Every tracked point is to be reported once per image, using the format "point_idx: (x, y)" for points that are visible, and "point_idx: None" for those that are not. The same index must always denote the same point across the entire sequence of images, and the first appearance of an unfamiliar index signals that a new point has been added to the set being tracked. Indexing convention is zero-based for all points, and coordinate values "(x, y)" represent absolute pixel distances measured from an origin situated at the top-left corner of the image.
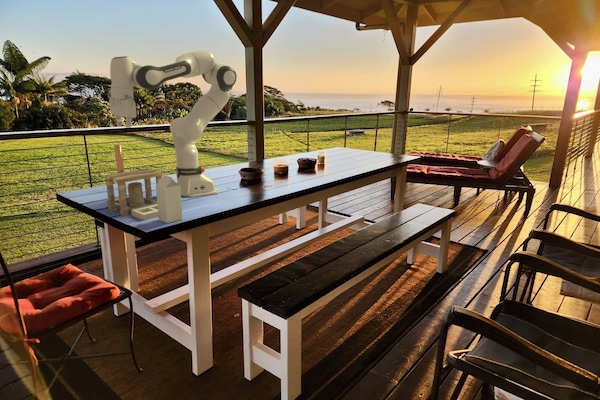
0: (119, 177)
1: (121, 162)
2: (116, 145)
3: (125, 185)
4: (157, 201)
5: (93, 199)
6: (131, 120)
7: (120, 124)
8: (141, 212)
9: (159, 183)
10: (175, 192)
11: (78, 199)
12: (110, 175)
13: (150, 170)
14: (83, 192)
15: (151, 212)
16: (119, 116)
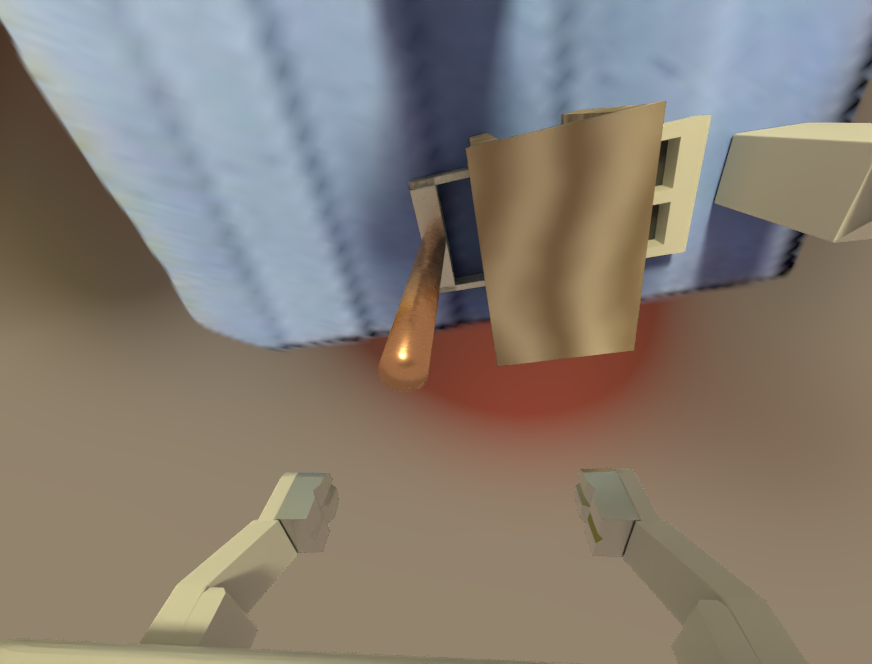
0: (585, 338)
1: (435, 304)
2: (423, 384)
3: (436, 247)
4: (769, 220)
5: (329, 297)
6: (748, 590)
7: (326, 496)
8: (653, 248)
9: (870, 231)
10: None
11: (310, 328)
12: (515, 352)
13: (532, 146)
14: (221, 299)
15: (685, 220)
16: (225, 633)
